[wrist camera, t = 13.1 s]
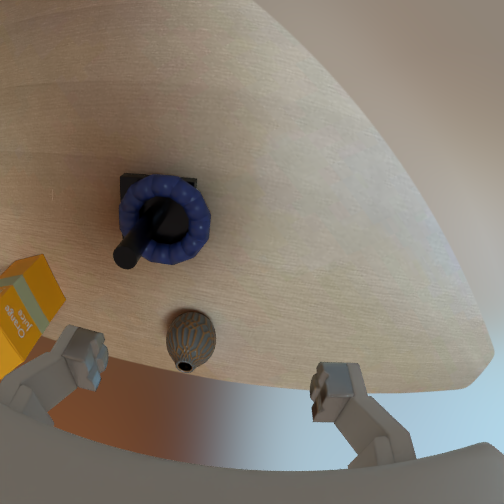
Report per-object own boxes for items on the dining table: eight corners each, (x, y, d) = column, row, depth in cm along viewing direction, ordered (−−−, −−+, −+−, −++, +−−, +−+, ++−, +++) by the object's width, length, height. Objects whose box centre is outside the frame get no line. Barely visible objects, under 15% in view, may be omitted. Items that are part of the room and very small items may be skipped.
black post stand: (124, 173, 35) (77, 208, 24) (197, 178, 35) (171, 216, 25) (127, 239, 39) (89, 290, 29) (193, 247, 39) (172, 304, 29)
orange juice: (43, 253, 40) (-34, 338, 23) (66, 300, 44) (7, 391, 27) (14, 260, 41) (-56, 337, 23) (37, 303, 45) (-21, 385, 28)
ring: (123, 168, 33) (114, 174, 31) (215, 177, 33) (212, 183, 31) (125, 251, 38) (118, 261, 36) (207, 263, 38) (204, 273, 36)
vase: (170, 302, 44) (155, 346, 36) (218, 306, 44) (210, 351, 36) (174, 337, 47) (162, 380, 39) (218, 341, 47) (212, 385, 39)
